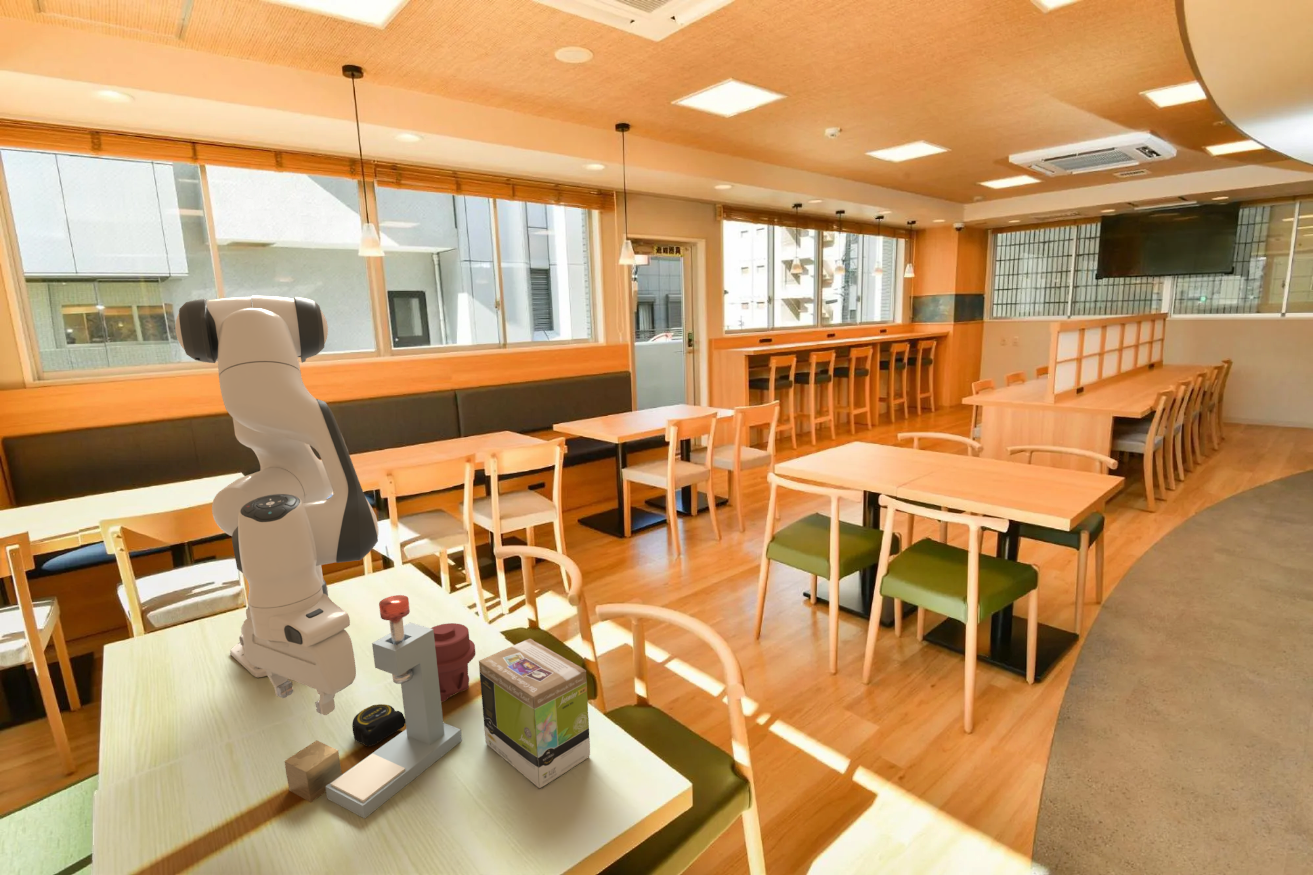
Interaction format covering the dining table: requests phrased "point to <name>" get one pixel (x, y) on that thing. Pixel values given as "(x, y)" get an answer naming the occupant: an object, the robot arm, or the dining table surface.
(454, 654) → the mechanical component
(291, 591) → the robot arm
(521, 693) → the tea box
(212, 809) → the dining table surface
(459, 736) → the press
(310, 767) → the block
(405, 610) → the button
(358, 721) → the tape measure
